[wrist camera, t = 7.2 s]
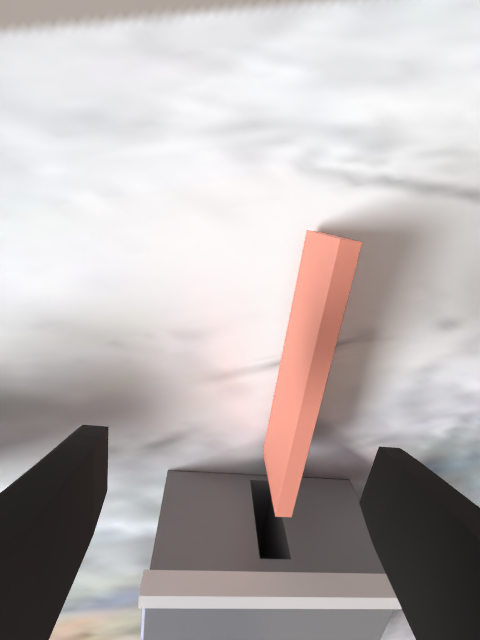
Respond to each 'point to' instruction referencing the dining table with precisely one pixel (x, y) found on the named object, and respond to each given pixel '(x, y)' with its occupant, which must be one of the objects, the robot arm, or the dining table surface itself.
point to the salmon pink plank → (306, 360)
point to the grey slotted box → (262, 564)
